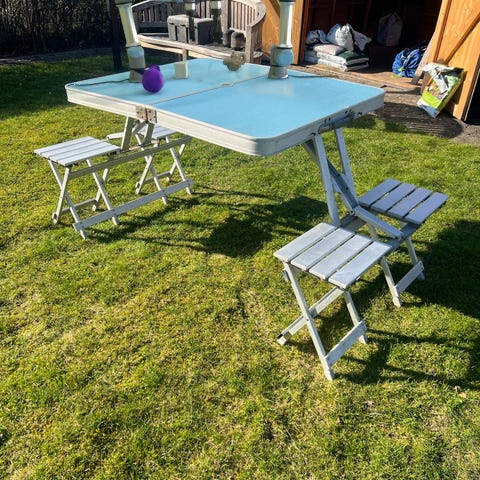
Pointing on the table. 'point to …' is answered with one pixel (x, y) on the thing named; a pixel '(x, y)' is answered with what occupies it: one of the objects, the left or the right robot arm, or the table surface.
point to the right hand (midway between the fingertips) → (217, 43)
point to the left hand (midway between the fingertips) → (192, 40)
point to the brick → (181, 70)
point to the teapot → (234, 61)
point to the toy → (152, 79)
